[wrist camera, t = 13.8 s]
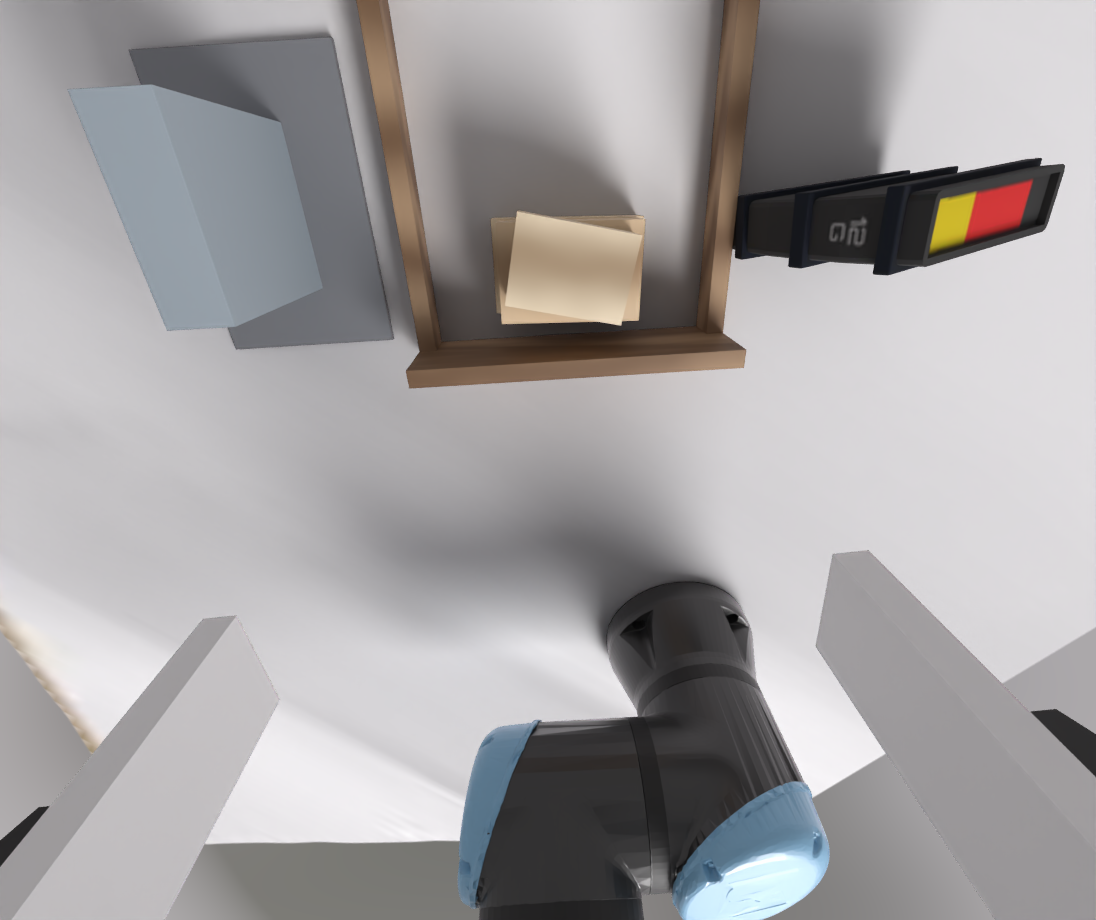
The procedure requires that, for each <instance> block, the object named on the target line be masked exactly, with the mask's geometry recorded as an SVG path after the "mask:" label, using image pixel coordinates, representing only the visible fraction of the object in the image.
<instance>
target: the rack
mask: <svg viewBox="0 0 1096 920" xmlns="http://www.w3.org/2000/svg"><path fill="white" fill-rule="evenodd" d="M356 1H357V7H358V13H359V18H360V24H361V29H362V35H363V40H364V46H365V51H366V57H367V62H368V68H369V74H370V79H371V85H372V90H373V96H374V101H375V107H376V112H377V118H378V123H379V129H380V134H381V140H382V146H383V151H384V157H385V162H386V168H387V173H388V179H389V184H390V190H391V195H392V201H393V206H394V212H395V218H396V223H397V229H398V234H399V240H400V245H401V251H402V256H403V262H404V267H405V273H406V278H407V284H408V290H409V295H410V301H411V306H412V312H413V317H414V323H415V328H416V334H417V339H418V345H419V350H420V352H419V353H418V355H417V356H416V358H415V359H414V360H413V362H412V363H411V365H410V366H409V367H408V369H407V370H406V374H407V379H408V384H409V388H425V387H441V386H457V385H473V384H489V383H505V382H522V381H538V380H554V379H570V378H586V377H602V376H618V375H634V374H650V373H666V372H682V371H698V370H715V369H731V368H744V363H745V355H746V349H744V348H743V347H742V346H740V345H739V344H737V343H736V342H735V341H733V340H732V339H730V338H729V337H728V336H726V335H725V334H723V326H724V317H725V308H726V299H727V290H728V281H729V272H730V263H731V255H732V246H733V237H734V228H735V219H736V210H737V200H738V192H739V183H740V174H741V165H742V157H743V148H744V139H745V130H746V121H747V112H748V103H749V94H750V85H751V76H752V67H753V58H754V50H755V41H756V32H757V23H758V14H759V5H760V0H724V11H723V23H722V34H721V46H720V57H719V69H718V80H717V92H716V104H715V115H714V127H713V138H712V150H711V161H710V173H709V185H708V196H707V208H706V219H705V231H704V242H703V254H702V266H701V277H700V289H699V300H698V312H697V323H696V326H688V327H672V328H656V329H640V330H624V331H608V332H592V333H576V334H560V335H544V336H528V337H511V338H495V339H479V340H463V341H447V342H442V341H441V335H440V328H439V322H438V316H437V309H436V303H435V297H434V290H433V284H432V278H431V271H430V265H429V259H428V252H427V246H426V240H425V233H424V227H423V221H422V214H421V208H420V202H419V195H418V189H417V183H416V176H415V170H414V164H413V157H412V151H411V145H410V138H409V132H408V126H407V119H406V113H405V107H404V100H403V94H402V88H401V81H400V75H399V69H398V62H397V56H396V50H395V43H394V37H393V30H392V24H391V18H390V11H389V5H388V0H356Z"/></svg>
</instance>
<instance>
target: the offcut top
mask: <svg viewBox="0 0 1096 920" xmlns="http://www.w3.org/2000/svg"><path fill="white" fill-rule="evenodd" d="M641 240H642V235H640V234H637V233H634V232H630V231H625V230H619V229H614V228H609V227H604V226H598V225H593V224H588V223H583V222H577V221H572V220H567V219H562V218H557V217H551V216H546V215H541V214H536V213H530V212H525V211H520V210H518V211H517V215H516V223H515V231H514V239H513V247H512V255H511V262H510V270H509V278H508V286H507V294H506V302H505V306H509V307H515V308H521V309H526V310H532V311H538V312H544V313H550V314H556V315H562V316H568V317H573V318H579V319H585V320H591V321H597V322H603V323H609V324H615V325H620V326H621V324H622V319H623V315H624V311H625V307H626V303H627V298H628V294H629V290H630V286H631V282H632V277H633V273H634V269H635V265H636V261H637V256H638V252H639V248H640V244H641Z"/></svg>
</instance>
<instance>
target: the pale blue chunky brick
mask: <svg viewBox="0 0 1096 920" xmlns="http://www.w3.org/2000/svg"><path fill="white" fill-rule="evenodd" d="M67 90H68V92H69V94H70V97H71V99H72V102H73V104H74V107H75V109H76V111H77V114H78V116H79V119H80V121H81V123H82V126H83V128H84V131H85V133H86V136H87V138H88V140H89V143H90V145H91V148H92V150H93V153H94V155H95V157H96V160H97V162H98V165H99V167H100V169H101V172H102V174H103V177H104V179H105V182H106V184H107V186H108V189H109V191H110V194H111V196H112V199H113V201H114V203H115V206H116V208H117V211H118V213H119V215H120V218H121V220H122V223H123V225H124V228H125V230H126V232H127V235H128V237H129V240H130V242H131V245H132V247H133V249H134V252H135V254H136V257H137V259H138V261H139V264H140V266H141V269H142V271H143V274H144V276H145V278H146V281H147V283H148V286H149V288H150V291H151V293H152V295H153V298H154V300H155V303H156V305H157V307H158V310H159V312H160V315H161V317H162V320H163V322H164V324H165V327H166V329H167V331H171V330H188V329H206V328H223V327H236V326H238V325H241V324H243V323H245V322H247V321H250V320H252V319H254V318H257V317H259V316H261V315H263V314H266V313H268V312H270V311H272V310H275V309H277V308H279V307H281V306H284V305H286V304H288V303H290V302H293V301H295V300H297V299H300V298H302V297H304V296H306V295H309V294H311V293H313V292H315V291H318V290H320V289H322V288H323V286H322V282H321V278H320V275H319V271H318V267H317V263H316V259H315V255H314V251H313V247H312V243H311V239H310V235H309V231H308V227H307V223H306V219H305V215H304V212H303V208H302V204H301V200H300V196H299V192H298V188H297V184H296V180H295V176H294V172H293V168H292V164H291V160H290V156H289V153H288V149H287V145H286V141H285V137H284V133H283V129H282V125H281V122H278V121H274V120H271V119H268V118H264V117H261V116H257V115H254V114H251V113H247V112H244V111H240V110H237V109H233V108H230V107H227V106H223V105H220V104H216V103H213V102H210V101H206V100H203V99H199V98H196V97H193V96H189V95H186V94H182V93H179V92H175V91H172V90H169V89H165V88H162V87H158V86H155V85H152V84H151V85H134V86H116V87H98V88H80V89H67Z"/></svg>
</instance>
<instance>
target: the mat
mask: <svg viewBox="0 0 1096 920" xmlns="http://www.w3.org/2000/svg"><path fill="white" fill-rule="evenodd" d="M129 52H130V55H131V58H132V61H133V63H134V66H135V69H136V72H137V75H138V77H139V80H140V83H141V85H151V84H152V85H155V86H158V87H162V88H165V89H169V90H172V91H175V92H179V93H182V94H186V95H189V96H193V97H196V98H199V99H203V100H206V101H210V102H213V103H216V104H220V105H223V106H227V107H230V108H233V109H237V110H240V111H244V112H247V113H251V114H254V115H257V116H261V117H264V118H268V119H271V120H274V121H278V122H281V125H282V129H283V133H284V137H285V141H286V145H287V149H288V153H289V156H290V160H291V164H292V168H293V172H294V176H295V180H296V184H297V188H298V192H299V196H300V200H301V204H302V208H303V212H304V215H305V219H306V223H307V227H308V231H309V235H310V239H311V243H312V247H313V251H314V255H315V259H316V263H317V267H318V271H319V275H320V278H321V282H322V286H323V288H322V289H320V290H318V291H315V292H313V293H311V294H309V295H306V296H304V297H302V298H300V299H297V300H295V301H293V302H290V303H288V304H286V305H284V306H281V307H279V308H277V309H275V310H272V311H270V312H268V313H266V314H263V315H261V316H259V317H257V318H254V319H252V320H250V321H247V322H245V323H243V324H241V325H238V326H236V327H228V328H229V331H230V334H231V337H232V340H233V342H234V345H235V348H236V349H250V348H266V347H282V346H298V345H315V344H331V343H347V342H363V341H379V340H393V339H394V336H393V331H392V326H391V321H390V316H389V311H388V306H387V301H386V296H385V291H384V286H383V282H382V277H381V272H380V267H379V262H378V257H377V252H376V247H375V242H374V237H373V232H372V227H371V222H370V217H369V213H368V208H367V203H366V198H365V193H364V188H363V183H362V178H361V173H360V168H359V163H358V158H357V153H356V149H355V144H354V139H353V134H352V129H351V124H350V119H349V114H348V109H347V104H346V99H345V94H344V89H343V84H342V80H341V75H340V70H339V65H338V60H337V55H336V50H335V45H334V40H333V38H331V37H325V38H309V39H292V40H276V41H260V42H244V43H228V44H212V45H196V46H180V47H164V48H148V49H132V50H129Z"/></svg>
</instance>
